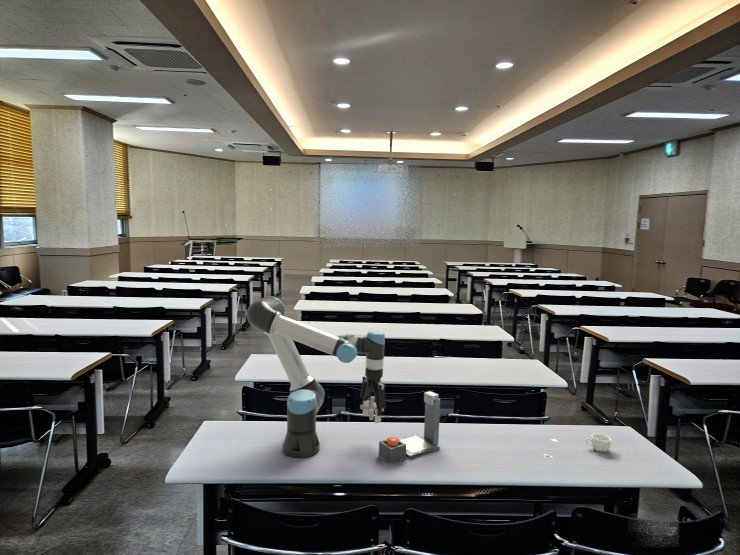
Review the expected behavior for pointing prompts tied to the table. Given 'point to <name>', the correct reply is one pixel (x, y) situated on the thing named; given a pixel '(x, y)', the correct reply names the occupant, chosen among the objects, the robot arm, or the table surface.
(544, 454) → the paper
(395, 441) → the press button
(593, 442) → the teacup
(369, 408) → the pipe connector
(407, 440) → the press frame
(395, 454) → the button housing
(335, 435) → the table surface
